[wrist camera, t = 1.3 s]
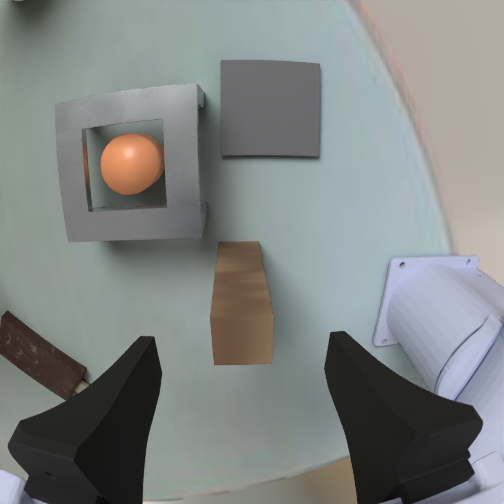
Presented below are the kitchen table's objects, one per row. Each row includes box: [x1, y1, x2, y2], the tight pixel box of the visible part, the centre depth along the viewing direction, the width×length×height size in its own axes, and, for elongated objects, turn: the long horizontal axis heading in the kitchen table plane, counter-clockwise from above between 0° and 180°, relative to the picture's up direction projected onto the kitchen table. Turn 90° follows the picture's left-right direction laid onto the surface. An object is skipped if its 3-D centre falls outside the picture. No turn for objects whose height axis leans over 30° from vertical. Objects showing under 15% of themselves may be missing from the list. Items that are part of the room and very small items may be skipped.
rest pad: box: [221, 60, 320, 156], centre depth 18 cm, size 6×6×1 cm
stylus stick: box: [210, 241, 274, 365], centre depth 17 cm, size 3×3×9 cm
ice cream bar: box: [0, 311, 89, 401], centre depth 24 cm, size 5×2×15 cm
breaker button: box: [101, 133, 165, 195], centre depth 17 cm, size 3×3×2 cm
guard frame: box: [55, 83, 207, 242], centre depth 17 cm, size 8×8×4 cm
